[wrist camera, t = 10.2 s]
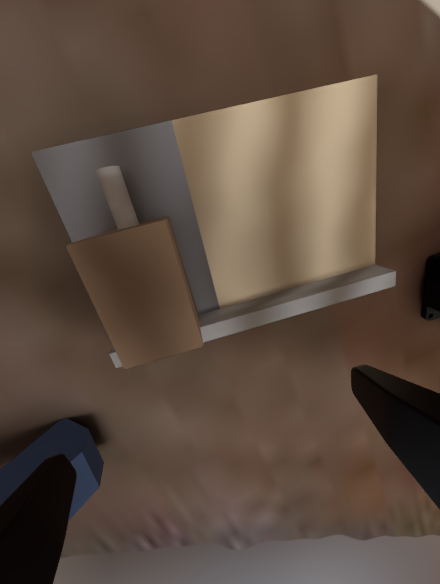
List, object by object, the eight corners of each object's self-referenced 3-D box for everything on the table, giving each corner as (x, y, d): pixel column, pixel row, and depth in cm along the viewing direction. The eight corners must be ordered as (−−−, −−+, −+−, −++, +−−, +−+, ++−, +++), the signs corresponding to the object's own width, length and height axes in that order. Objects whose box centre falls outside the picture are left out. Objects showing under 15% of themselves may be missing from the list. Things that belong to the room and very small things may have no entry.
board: (359, 85, 16) (405, 55, 13) (361, 277, 21) (395, 290, 18) (44, 156, 15) (6, 142, 11) (128, 345, 20) (118, 372, 17)
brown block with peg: (153, 164, 14) (142, 145, 10) (197, 310, 18) (203, 346, 13) (78, 182, 14) (30, 171, 9) (138, 326, 18) (124, 369, 13)
